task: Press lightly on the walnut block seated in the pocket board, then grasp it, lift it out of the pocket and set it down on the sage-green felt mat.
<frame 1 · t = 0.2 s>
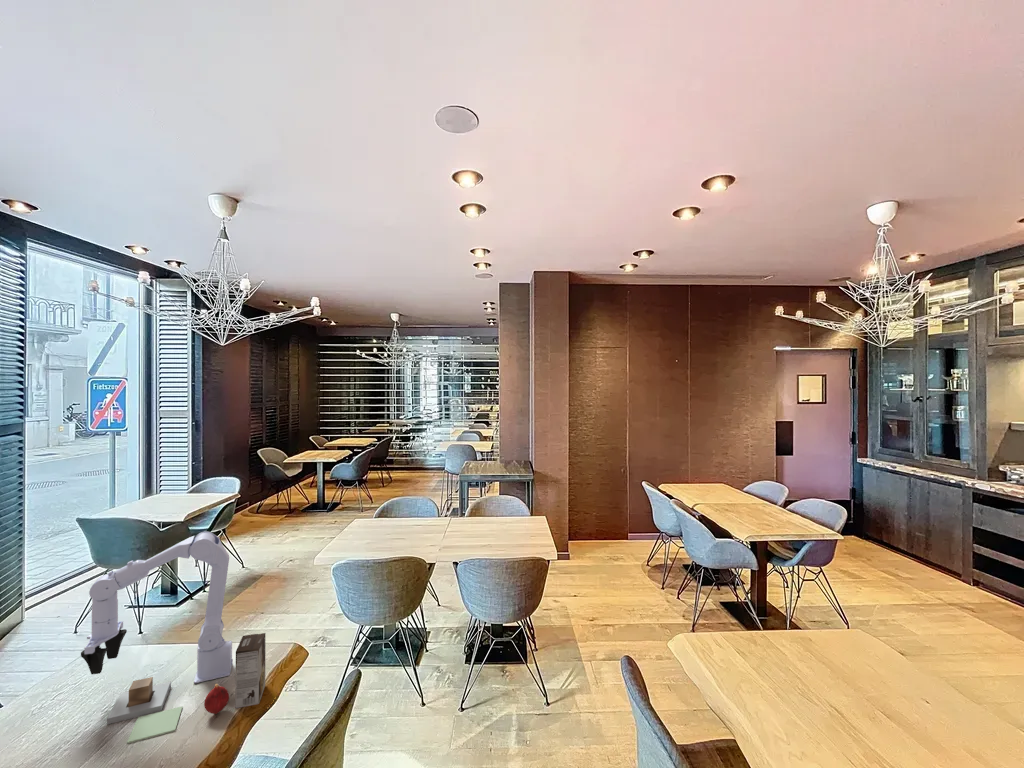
hand: (104, 665, 134), 10 cm above the table, fingers open, 7 cm apart
coffee box: (250, 697, 136), on the table
felt mat: (156, 724, 124), on the table
onion: (216, 714, 129), on the table
pocket board: (140, 704, 132), on the table
walnut block: (140, 693, 132), in the pocket board
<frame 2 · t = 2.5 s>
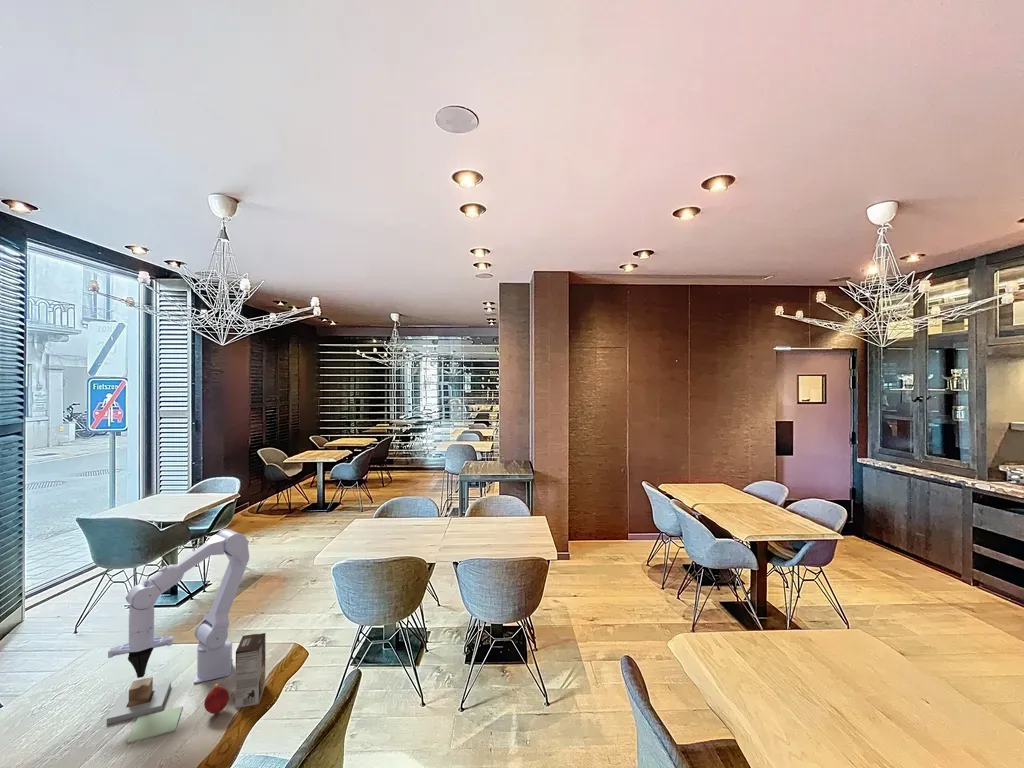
hand: (141, 675, 133), 8 cm above the table, fingers closed
nothing on the table moved.
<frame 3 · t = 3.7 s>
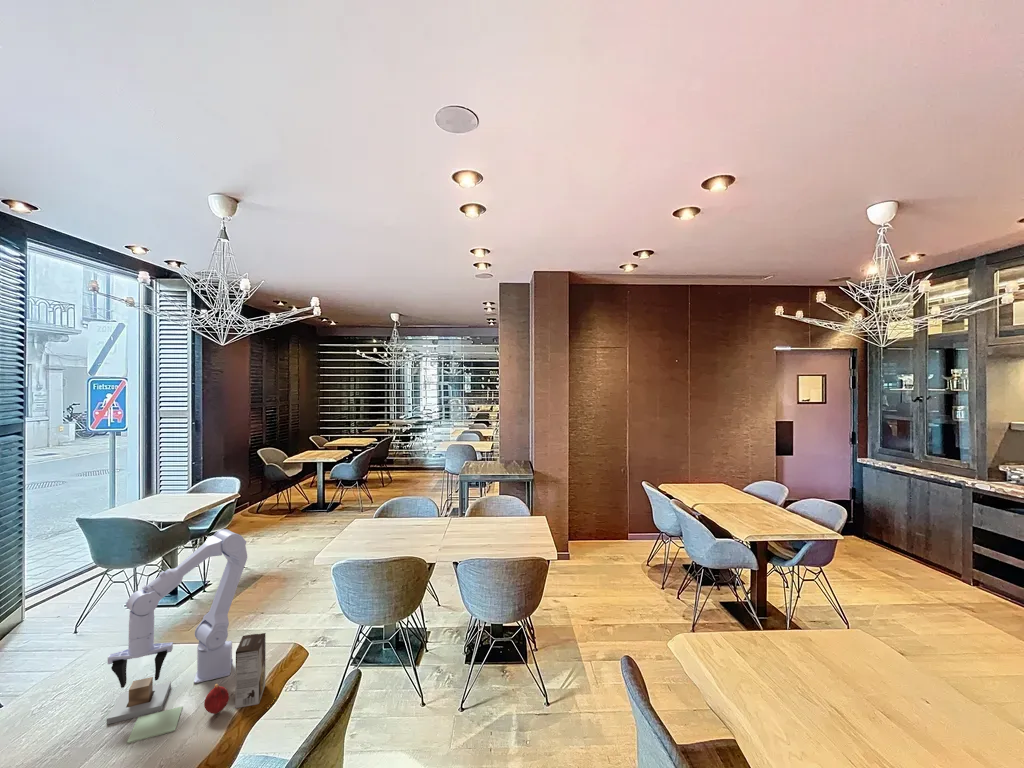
hand: (140, 682, 132), 6 cm above the table, fingers open, 7 cm apart
nothing on the table moved.
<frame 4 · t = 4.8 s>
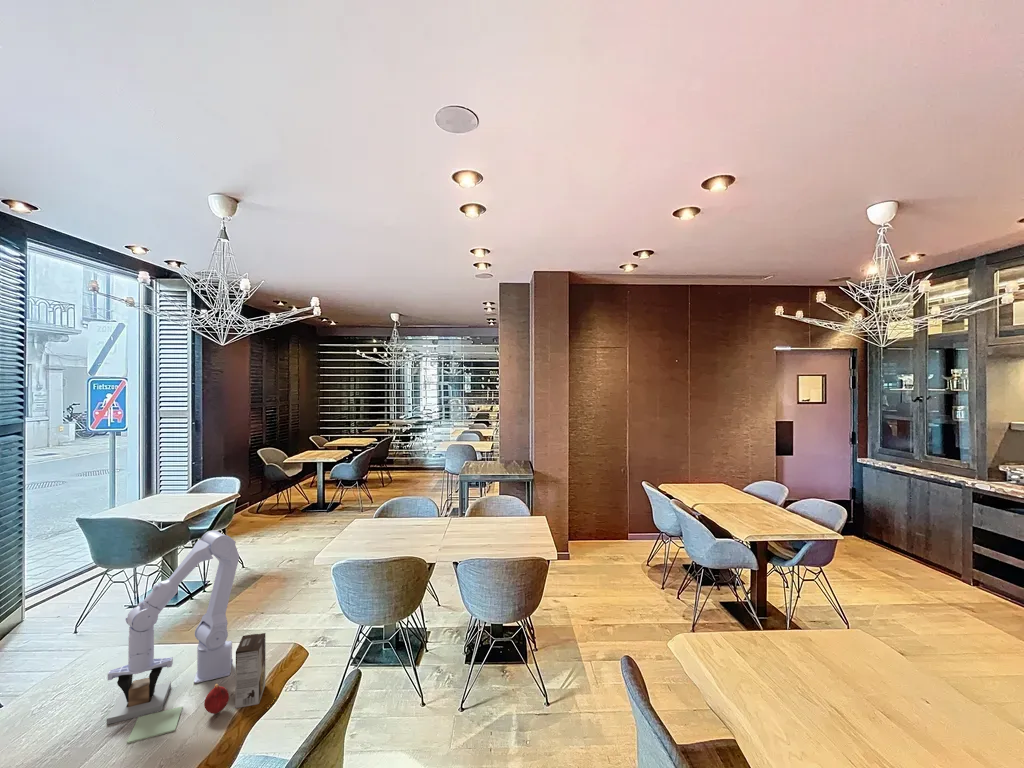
hand: (140, 697, 132), 2 cm above the table, fingers closed on walnut block, 4 cm apart
walnut block: (140, 693, 132), in the pocket board, touching gripper
everything else where it was.
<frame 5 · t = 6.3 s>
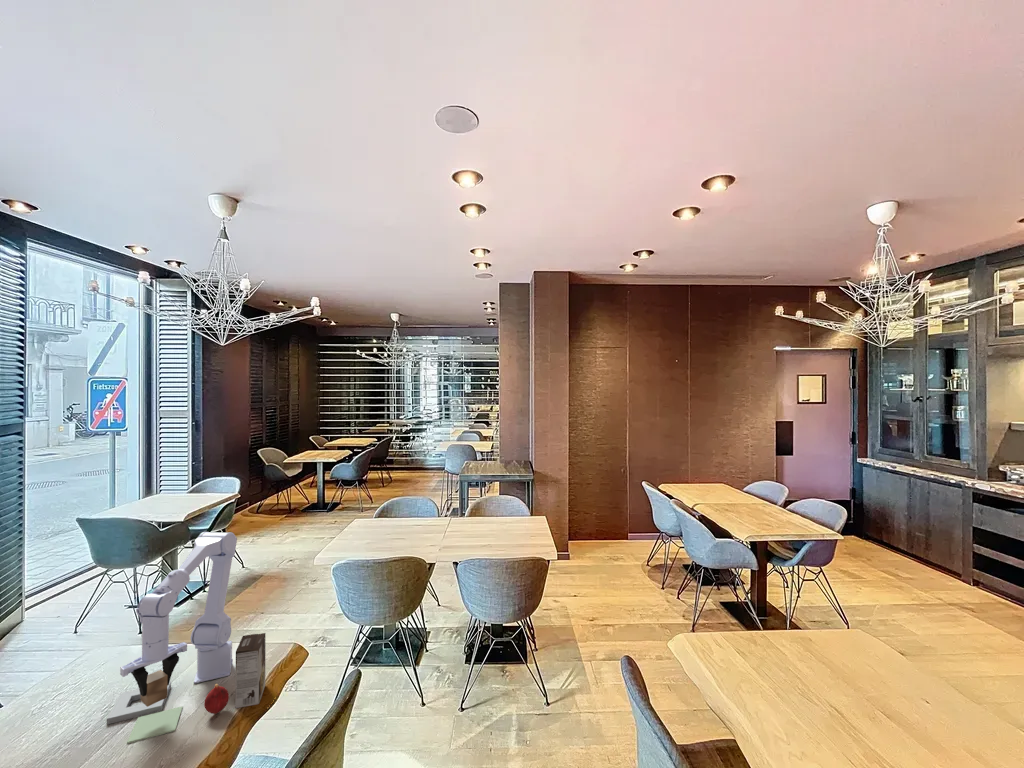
hand: (154, 689, 125), 9 cm above the table, fingers closed on walnut block, 4 cm apart
walnut block: (154, 687, 125), point 9 cm above the table, touching gripper
everything else where it was.
when the fingers open (3 cm above the table, at t = 7.9 s): walnut block stays where it is, resting on felt mat.
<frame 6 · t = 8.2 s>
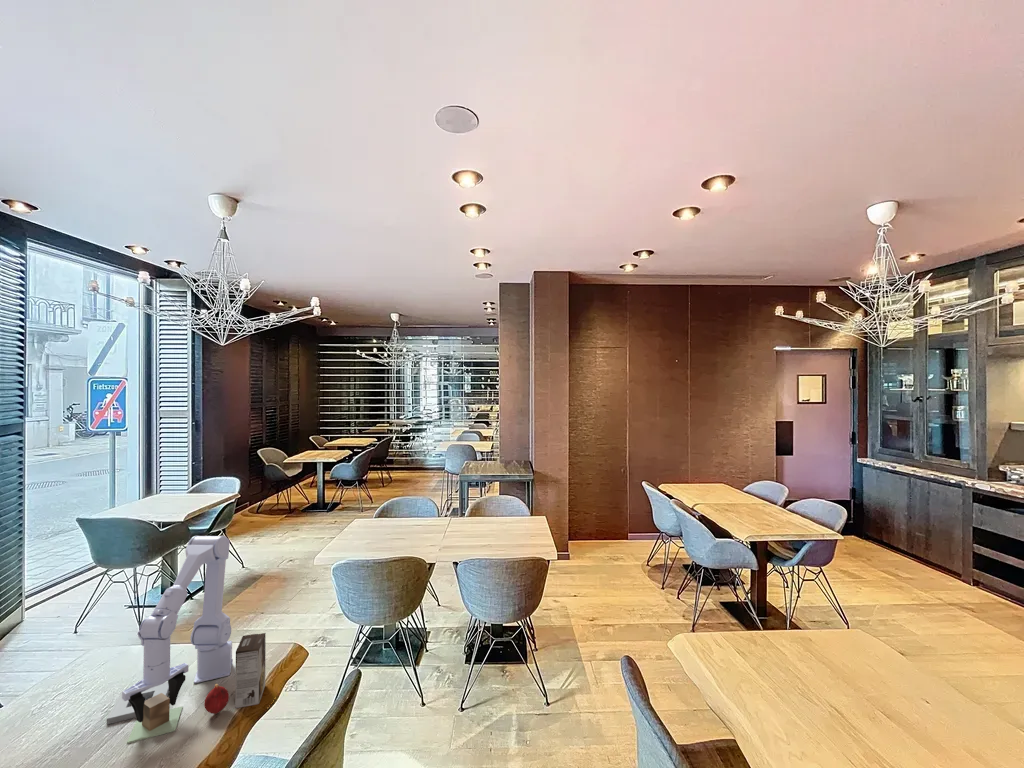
hand: (156, 711, 124), 3 cm above the table, fingers open, 7 cm apart
walnut block: (155, 711, 125), on the felt mat
everything else where it was.
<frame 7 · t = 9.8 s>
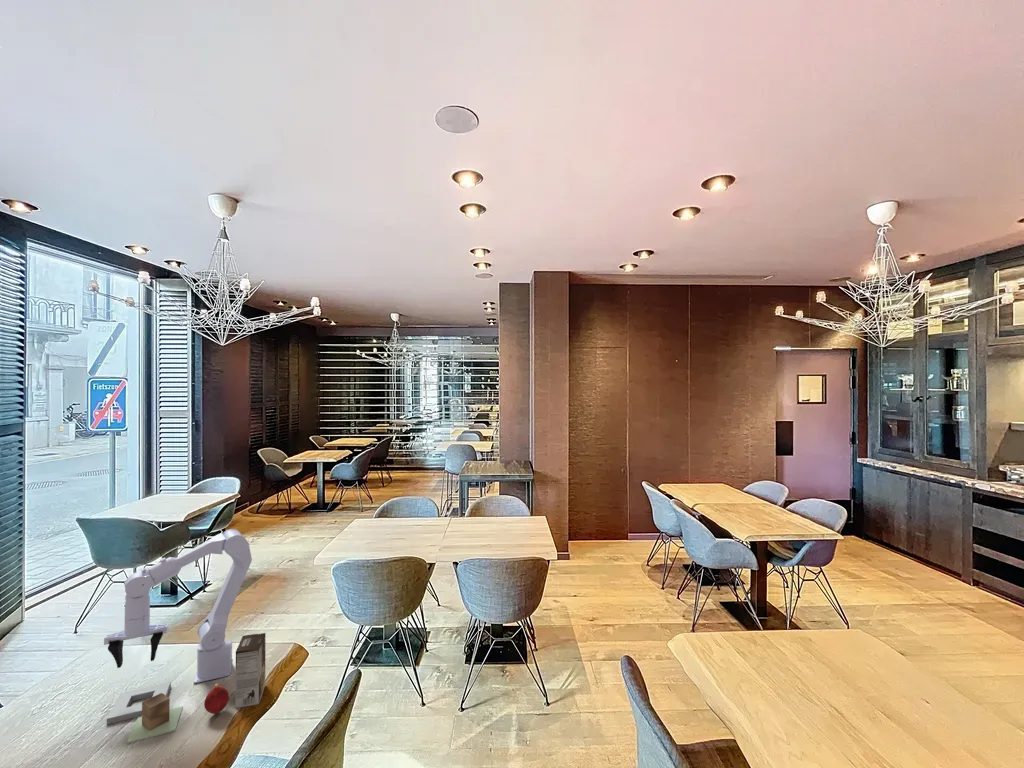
hand: (136, 662, 135), 10 cm above the table, fingers open, 7 cm apart
nothing on the table moved.
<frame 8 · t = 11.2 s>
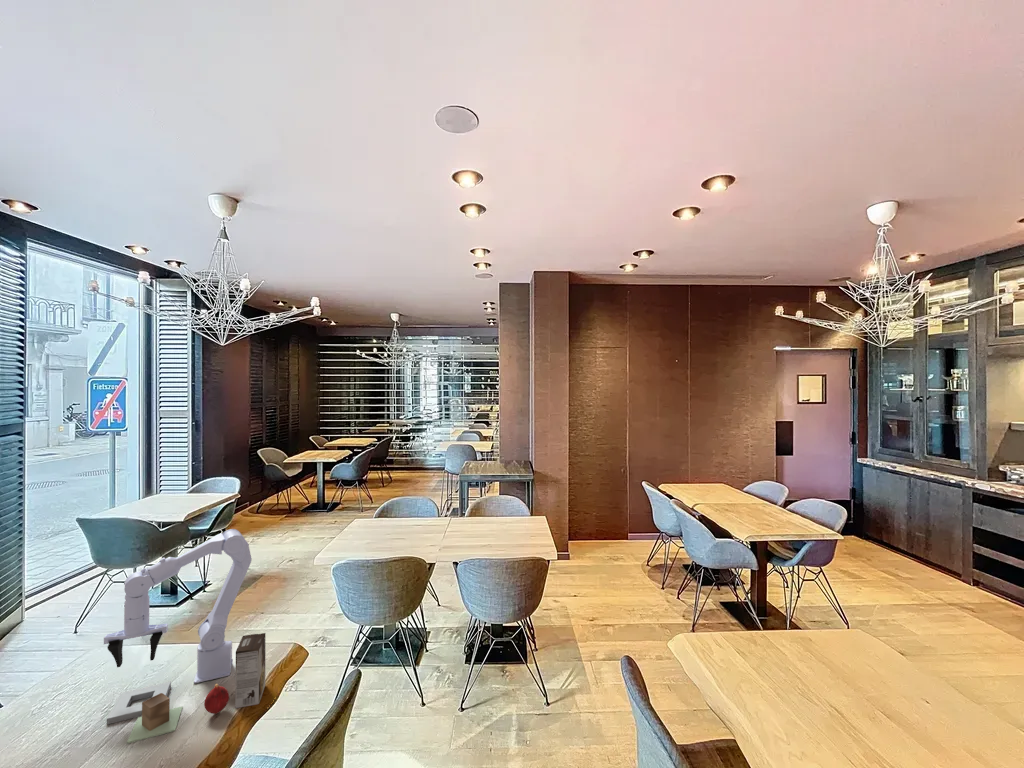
hand: (136, 662, 135), 10 cm above the table, fingers open, 7 cm apart
nothing on the table moved.
at the end: walnut block inside the target area on the felt mat (0.4 cm from its centre), point 3.4 cm above the felt mat's base; walnut block tilted 0°; the gripper is holding nothing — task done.
